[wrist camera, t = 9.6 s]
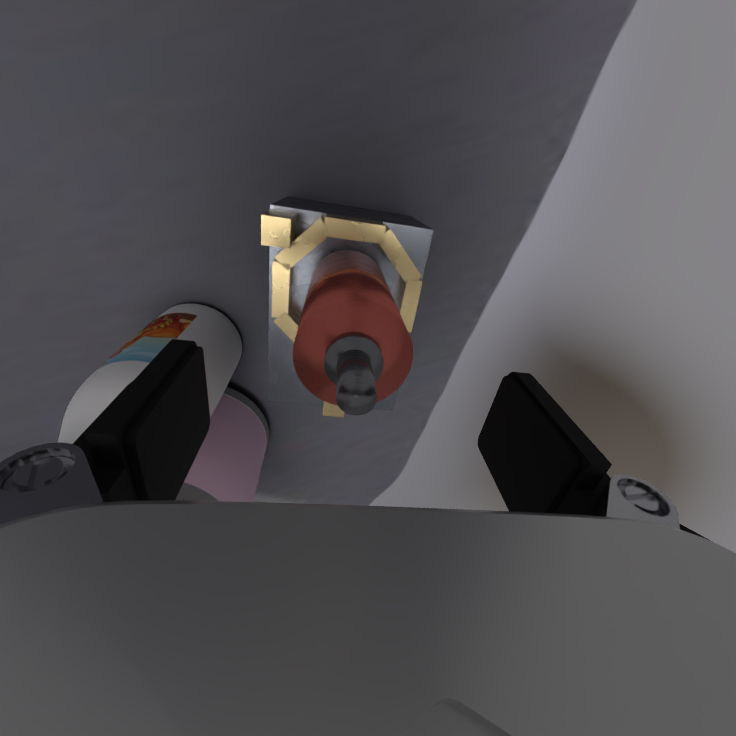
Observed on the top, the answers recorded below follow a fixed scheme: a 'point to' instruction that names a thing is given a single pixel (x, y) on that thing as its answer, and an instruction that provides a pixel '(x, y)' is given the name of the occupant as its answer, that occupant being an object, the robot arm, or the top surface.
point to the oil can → (351, 335)
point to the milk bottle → (143, 348)
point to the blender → (229, 453)
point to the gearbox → (304, 252)
